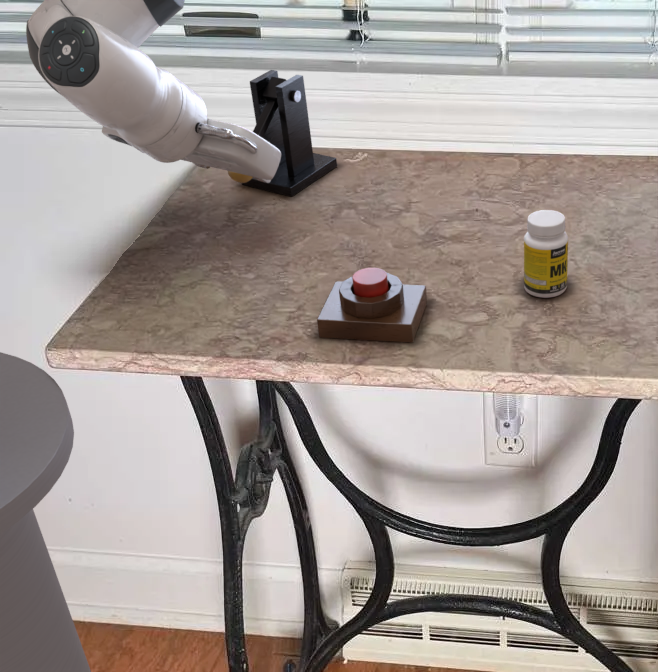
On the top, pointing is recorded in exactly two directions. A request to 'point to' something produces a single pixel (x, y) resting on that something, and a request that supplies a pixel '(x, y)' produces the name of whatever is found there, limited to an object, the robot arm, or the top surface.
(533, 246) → the supplement bottle
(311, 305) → the top surface
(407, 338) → the button block
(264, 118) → the lever
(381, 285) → the button
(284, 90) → the bracket
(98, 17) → the robot arm
